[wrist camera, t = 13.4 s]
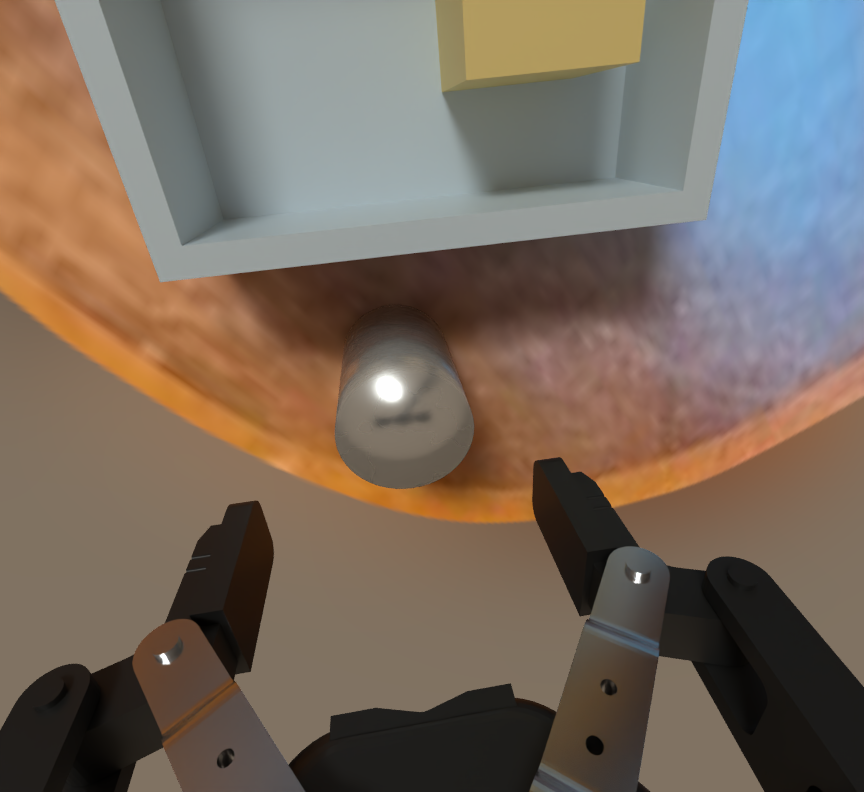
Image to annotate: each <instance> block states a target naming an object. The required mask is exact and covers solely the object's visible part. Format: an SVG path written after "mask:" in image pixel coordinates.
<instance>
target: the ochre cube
mask: <svg viewBox="0 0 864 792" xmlns="http://www.w3.org/2000/svg"><path fill="white" fill-rule="evenodd" d="M645 3H646V0H435V6H436V20H437V34H438V48H439V62H440V76H441V89H442V92H450V91H459V90H468V89H478V88H487V87H496V86H506V85H515V84H524V83H534V82H543V81H552V80H562V79H571V78H576V77H580V76H584V75H588V74H593V73H597V72H601V71H605V70H609V69H613V68H617V67H621V66H625V65H629V64H633V63H637V62H640V53H641V43H642V33H643V23H644V13H645Z"/></svg>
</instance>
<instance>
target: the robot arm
mask: <svg viewBox="0 0 864 792" xmlns="http://www.w3.org/2000/svg"><path fill="white" fill-rule="evenodd" d="M532 502H533V510H534V515H535V518H536V521H537V523H538V525H539V527H540V530H541V532H542V534H543V536H544V539H545V541H546V543H547V545H548V547H549V550H550V552H551V554H552V556H553V558H554V561H555V563H556V565H557V567H558V569H559V572H560V574H561V576H562V578H563V580H564V583H565V585H566V587H567V589H568V591H569V593H570V596H571V598H572V600H573V602H574V604H575V607H576V609H577V611H578V613H579V616H584V615H590V614H591V615H590V618H589V620H588V619H587V620H586V622H585V625H584V627H583V631H582V634H581V637H580V640H579V643H578V646H577V649H576V653H575V656H574V659H573V662H572V665H571V669H570V672H569V675H568V678H567V681H566V684H565V687H564V691H563V694H562V697H561V700H560V703H559V707H558V710H557V712H555V711H554V710H552V709H550V708H548V707H546V706H544V705H541V704H539V703H536V702H533V701H529V700H525V699H520V698H515V697H514V694H513V690H512V686H511V684H505V685H499V686H495V687H489V688H483V689H477V690H472V691H467V692H465V693H463V694H461V695H459V696H457V697H455V698H453V699H451V700H449V701H446V702H444V703H442V704H440V705H438V706H436V707H435V708H432V709H430V710H428V711H425V712H411V711H402V710H391V709H382V708H373V709H367V710H362V711H356V712H351V713H345V714H340V715H334V716H331V722H330V732H329V733H327V734H325V735H323V736H322V737H320V738H319V739H317V740H315V741H314V742H312V743H311V744H310V745H309V746H307V747H306V748H305V749H304V750H302V751H301V752H300V753H299V754H298V755H297V756H296V757H295V758H294V759H293V760H292V761H291V762H290V764H289V765H288V764H287V762H286V760H285V759H284V757H283V756H282V754H281V753H280V751H279V749H278V748H277V746H276V745H275V743H274V741H273V740H272V738H271V737H270V735H269V734H268V732H267V731H266V729H265V727H264V726H263V724H262V722H261V721H260V719H259V718H258V716H257V714H256V713H255V711H254V710H253V708H252V707H251V705H250V704H249V702H248V700H247V699H246V697H245V695H244V694H243V692H242V691H241V689H240V688H239V686H238V685H237V683H236V682H235V681H234V677H235V674H240V673H245V672H251V667H252V662H253V657H254V653H255V648H256V643H257V638H258V633H259V628H260V623H261V618H262V614H263V608H264V604H265V599H266V593H267V589H268V584H269V579H270V574H271V569H272V565H273V558H274V557H273V556H274V549H273V541H272V538H271V535H270V532H269V529H268V526H267V523H266V520H265V517H264V514H263V511H262V508H261V505H260V503H259V502H258V501H250V502H243V503H236V504H230V505H229V506H228V508H227V510H226V513H225V516H224V518H223V521H222V524H220V525H213V526H210V528H209V529H208V530H207V531H206V532H205V533H204V535H203V536H202V537H201V538H200V539H199V540H198V542H197V544H196V547H195V549H194V552H193V554H192V560H190V562H189V564H188V567H187V569H186V571H187V572H186V573H185V574H184V577H183V579H182V582H181V584H180V587H179V589H178V592H177V594H176V597H175V599H174V602H173V604H172V607H171V609H170V612H169V614H168V617H167V619H166V622H165V624H163V625H161V626H159V627H158V628H156V629H155V630H153V631H152V632H151V633H149V634H148V635H147V636H146V637H145V638H144V639H143V640H142V642H141V643H140V644H139V646H138V648H137V649H136V651H135V654H134V655H132V656H130V657H128V658H126V659H124V660H122V661H120V662H117V663H115V664H113V665H111V666H108V667H106V668H104V669H101V670H99V671H97V672H95V673H92V674H91V673H90V672H89V670H88V669H87V668H86V667H85V666H83V665H80V664H68V665H64V666H60V667H58V668H56V669H54V670H52V671H50V672H48V673H46V674H44V675H43V676H41V677H40V678H39V679H37V680H36V681H35V682H34V683H33V684H31V685H30V686H29V687H28V688H27V689H26V690H25V691H24V692H23V693H22V695H21V696H20V697H19V698H18V700H17V702H16V703H15V705H14V707H13V708H12V710H11V712H10V714H9V716H8V717H7V719H6V721H5V723H4V725H3V726H2V728H1V730H0V792H127V790H128V787H129V784H130V780H131V777H132V774H133V770H134V768H135V764H136V761H137V760H140V759H141V758H143V757H145V756H147V755H149V754H151V753H153V752H155V751H157V750H159V749H161V748H163V747H164V749H165V752H166V754H167V756H168V759H169V761H170V763H171V766H172V768H173V770H174V772H175V775H176V777H177V780H178V782H179V784H180V786H181V788H182V791H183V792H650V791H649V790H648V789H647V788H645V787H644V786H643V785H642V784H641V783H640V782H638V779H639V772H640V766H641V760H642V754H643V748H644V742H645V736H646V729H647V724H648V718H649V712H650V705H651V700H652V693H653V688H654V681H655V675H656V669H657V663H658V657H659V656H663V657H670V658H676V659H683V660H690V661H692V663H693V665H694V667H695V668H696V670H697V672H698V674H699V676H700V677H701V679H702V681H703V683H704V685H705V686H706V688H707V690H708V692H709V694H710V695H711V697H712V699H713V701H714V703H715V704H716V706H717V708H718V709H719V711H720V713H721V715H722V717H723V719H724V720H725V722H726V724H727V726H728V728H729V729H730V731H731V733H732V735H733V736H734V738H735V740H736V742H737V743H738V745H739V747H740V749H741V751H742V752H743V754H744V756H745V758H746V759H747V761H748V763H749V765H750V767H751V768H752V770H753V772H754V774H755V776H756V777H757V779H758V781H759V783H760V785H761V786H762V788H763V790H764V792H864V687H863V686H862V685H861V683H860V682H859V681H858V680H857V679H856V677H855V676H854V675H853V674H852V673H851V671H850V670H849V669H848V668H847V667H846V666H845V665H844V663H843V662H842V661H841V660H840V659H839V657H838V656H837V655H836V654H835V653H834V651H833V650H832V649H831V648H830V647H829V645H828V644H827V643H826V642H825V641H824V640H823V638H822V637H821V636H820V635H819V634H818V633H817V631H816V630H815V629H814V628H813V626H812V625H811V624H810V623H809V622H808V621H807V619H806V618H805V617H804V616H803V615H802V613H801V612H800V611H799V610H798V609H797V608H796V606H794V604H793V603H792V602H791V600H790V599H789V598H788V597H787V596H786V595H785V593H784V592H783V591H782V590H781V589H780V588H779V586H778V585H777V584H776V583H775V582H774V580H773V579H772V578H771V577H770V576H769V575H768V574H767V573H766V572H765V571H764V570H763V569H761V568H760V567H758V566H757V565H755V564H753V563H751V562H748V561H746V560H744V559H740V558H736V557H719V558H716V559H714V560H712V561H711V562H710V563H709V565H708V567H707V570H706V571H701V570H693V569H683V568H676V567H671V566H667V565H666V564H665V563H664V562H663V560H662V559H661V558H659V557H658V556H657V555H655V554H654V553H652V552H650V551H648V550H646V549H643V548H640V547H639V546H638V544H637V543H636V541H635V540H634V539H633V537H632V535H631V534H630V533H629V531H628V530H627V528H626V527H625V525H624V524H623V522H622V521H621V519H620V518H619V516H618V515H617V513H616V512H615V510H614V509H613V508H611V504H610V503H609V501H608V500H607V498H606V497H604V494H603V492H602V491H601V490H600V488H599V487H598V485H597V484H596V482H595V481H593V480H592V479H591V478H589V477H588V476H586V475H585V474H584V473H582V472H576V473H571V472H570V471H569V469H568V467H567V466H566V464H565V463H564V461H563V460H562V458H560V457H558V458H551V459H544V460H537V461H535V462H534V468H533V497H532Z"/></svg>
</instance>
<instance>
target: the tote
mask: <svg viewBox="0 0 864 792" xmlns="http://www.w3.org/2000/svg"><path fill="white" fill-rule="evenodd" d="M55 3H56V5H57V8H58V11H59V13H60V16H61V19H62V21H63V24H64V27H65V29H66V32H67V35H68V37H69V40H70V43H71V45H72V48H73V51H74V53H75V56H76V59H77V61H78V64H79V67H80V69H81V72H82V75H83V77H84V80H85V83H86V85H87V88H88V91H89V93H90V96H91V99H92V101H93V104H94V107H95V109H96V112H97V115H98V117H99V120H100V123H101V125H102V128H103V131H104V133H105V136H106V139H107V141H108V144H109V147H110V149H111V152H112V155H113V157H114V160H115V163H116V165H117V168H118V171H119V173H120V176H121V179H122V181H123V184H124V187H125V189H126V192H127V195H128V197H129V200H130V203H131V205H132V208H133V211H134V213H135V216H136V219H137V221H138V224H139V227H140V229H141V232H142V235H143V237H144V240H145V243H146V245H147V248H148V251H149V253H150V256H151V259H152V261H153V264H154V267H155V269H156V272H157V275H158V277H159V280H160V282H166V281H175V280H183V279H192V278H201V277H210V276H218V275H227V274H236V273H245V272H253V271H262V270H271V269H280V268H288V267H297V266H306V265H315V264H323V263H332V262H341V261H350V260H358V259H367V258H376V257H385V256H393V255H402V254H411V253H420V252H428V251H437V250H446V249H455V248H463V247H472V246H481V245H490V244H498V243H507V242H516V241H525V240H533V239H542V238H551V237H560V236H568V235H577V234H586V233H595V232H603V231H612V230H621V229H630V228H638V227H647V226H656V225H665V224H673V223H682V222H691V221H700V220H706V218H707V212H708V207H709V202H710V197H711V192H712V187H713V181H714V176H715V171H716V166H717V161H718V155H719V150H720V145H721V140H722V135H723V130H724V124H725V119H726V114H727V109H728V104H729V98H730V93H731V88H732V83H733V78H734V73H735V67H736V62H737V57H738V52H739V47H740V41H741V36H742V31H743V26H744V21H745V16H746V10H747V5H748V0H646V3H645V13H644V23H643V33H642V43H641V53H640V62H637V63H633V64H629V65H625V66H621V67H617V68H613V69H609V70H605V71H601V72H597V73H593V74H588V75H584V76H580V77H576V78H571V79H562V80H552V81H543V82H534V83H524V84H515V85H506V86H496V87H487V88H478V89H468V90H459V91H450V92H442V89H441V76H440V62H439V48H438V34H437V20H436V6H435V0H55Z"/></svg>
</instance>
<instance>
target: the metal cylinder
mask: <svg viewBox="0 0 864 792" xmlns="http://www.w3.org/2000/svg"><path fill="white" fill-rule="evenodd" d="M473 434H474V421H473V416H472V412H471V409H470V406H469V404H468V401H467V398H466V395H465V393H464V390H463V387H462V385H461V382H460V379H459V377H458V374H457V371H456V368H455V366H454V363H453V360H452V358H451V355H450V352H449V350H448V347H447V344H446V341H445V339H444V336H443V334H442V332H441V330H440V328H439V327H438V325H437V324H436V323H435V322H434V321H433V320H432V319H431V318H430V317H429V316H428V315H426V314H425V313H423V312H421V311H419V310H417V309H415V308H412V307H408V306H402V305H389V306H383V307H380V308H377V309H374V310H372V311H370V312H368V313H366V314H365V315H363V316H362V317H361V318H360V319H358V320H357V322H356V323H355V324H354V325H353V326H352V328H351V329H350V331H349V333H348V335H347V337H346V340H345V344H344V350H343V359H342V369H341V378H340V387H339V397H338V406H337V415H336V424H335V440H336V446H337V449H338V452H339V454H340V456H341V458H342V459H343V461H344V462H345V464H346V465H347V466H348V467H349V468H350V469H351V470H352V471H353V472H354V473H355V474H356V475H358V476H359V477H361V478H362V479H364V480H366V481H368V482H370V483H373V484H375V485H378V486H382V487H387V488H395V489H406V488H415V487H420V486H424V485H427V484H430V483H432V482H435V481H437V480H439V479H441V478H443V477H444V476H446V475H447V474H449V473H450V472H451V471H452V470H454V469H455V468H456V467H457V466H458V465H459V464H460V462H461V461H462V460H463V459H464V457H465V456H466V454H467V452H468V450H469V448H470V446H471V443H472V440H473Z"/></svg>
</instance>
